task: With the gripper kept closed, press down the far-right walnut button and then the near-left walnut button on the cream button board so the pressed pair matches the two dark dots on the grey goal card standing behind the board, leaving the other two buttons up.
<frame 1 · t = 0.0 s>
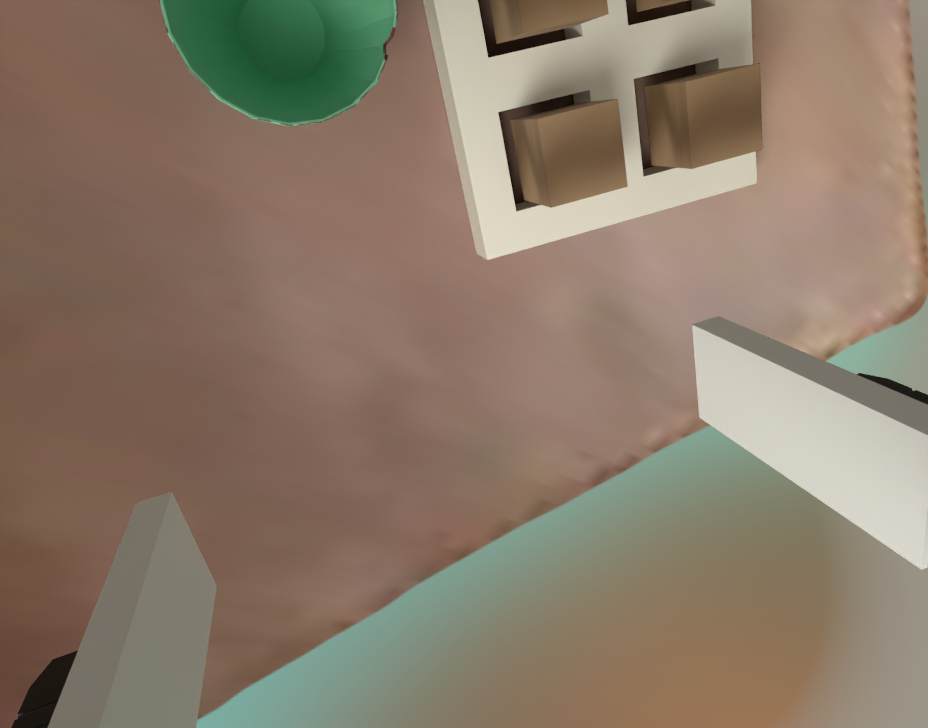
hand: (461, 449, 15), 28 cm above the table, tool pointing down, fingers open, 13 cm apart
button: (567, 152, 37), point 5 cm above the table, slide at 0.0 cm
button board: (590, 62, 41), on the table
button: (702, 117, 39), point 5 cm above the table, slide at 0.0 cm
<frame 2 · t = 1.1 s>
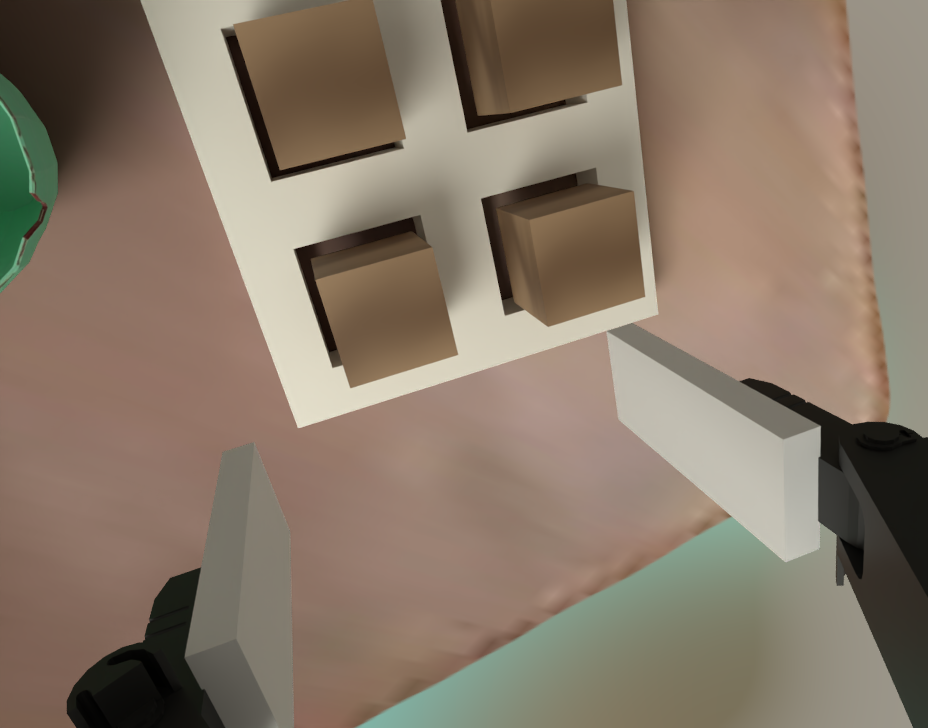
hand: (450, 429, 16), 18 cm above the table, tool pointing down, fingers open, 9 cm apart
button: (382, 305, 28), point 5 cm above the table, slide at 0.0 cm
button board: (431, 171, 31), on the table
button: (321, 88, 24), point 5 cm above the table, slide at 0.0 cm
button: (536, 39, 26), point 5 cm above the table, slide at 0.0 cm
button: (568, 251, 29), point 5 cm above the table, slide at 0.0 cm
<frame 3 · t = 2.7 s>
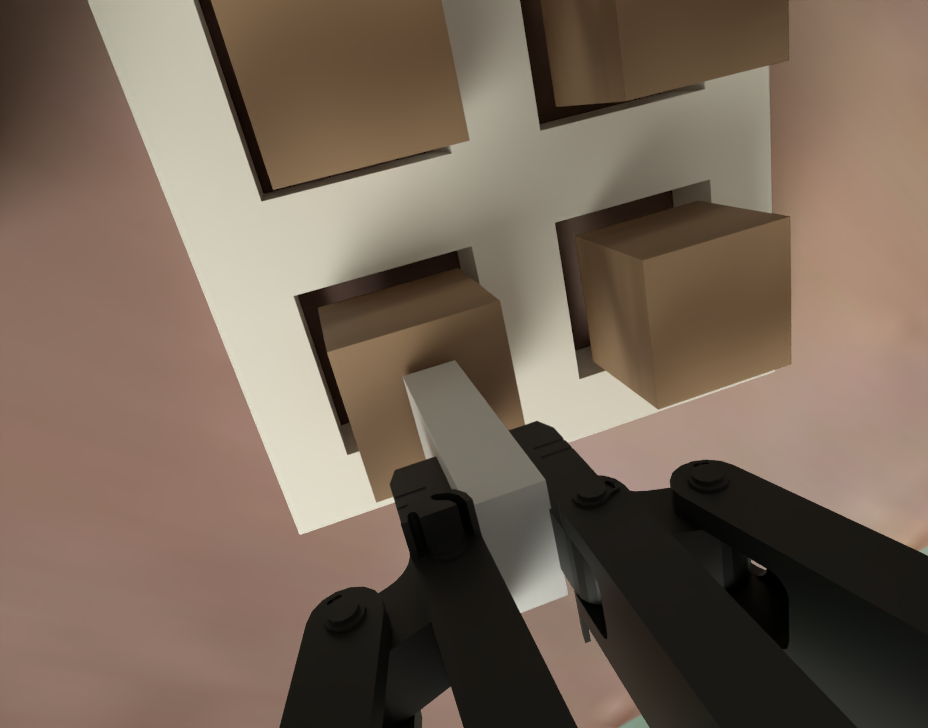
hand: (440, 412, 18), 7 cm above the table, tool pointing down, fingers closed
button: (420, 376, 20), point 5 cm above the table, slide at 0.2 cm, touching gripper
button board: (483, 183, 23), on the table
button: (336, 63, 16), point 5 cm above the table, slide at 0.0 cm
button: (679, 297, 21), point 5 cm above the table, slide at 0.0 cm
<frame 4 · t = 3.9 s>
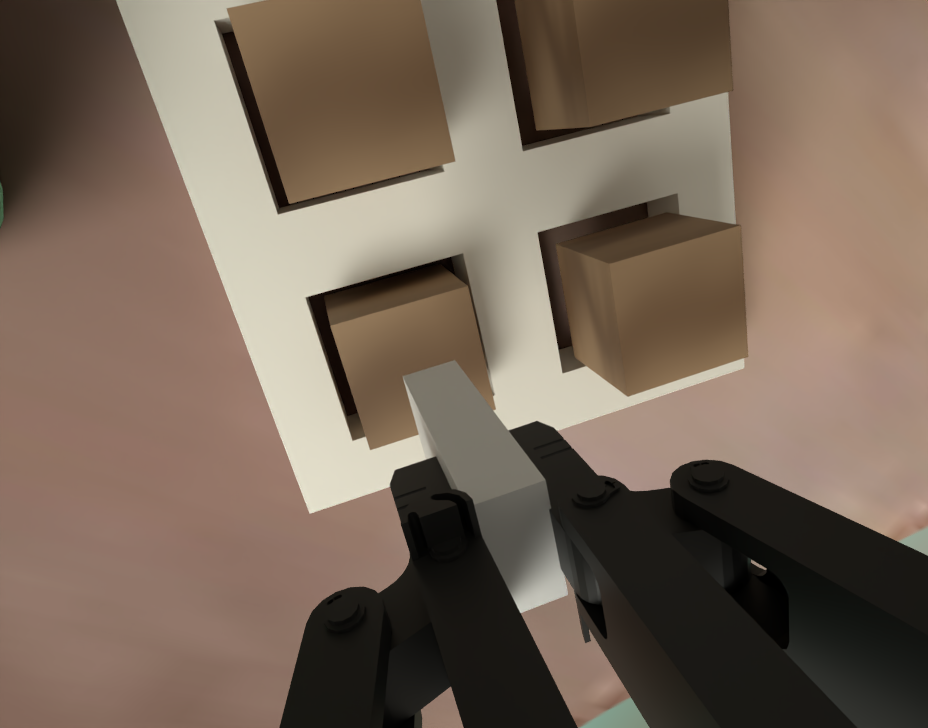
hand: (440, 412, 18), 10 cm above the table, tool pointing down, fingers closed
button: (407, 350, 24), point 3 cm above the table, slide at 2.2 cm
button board: (474, 197, 26), on the table
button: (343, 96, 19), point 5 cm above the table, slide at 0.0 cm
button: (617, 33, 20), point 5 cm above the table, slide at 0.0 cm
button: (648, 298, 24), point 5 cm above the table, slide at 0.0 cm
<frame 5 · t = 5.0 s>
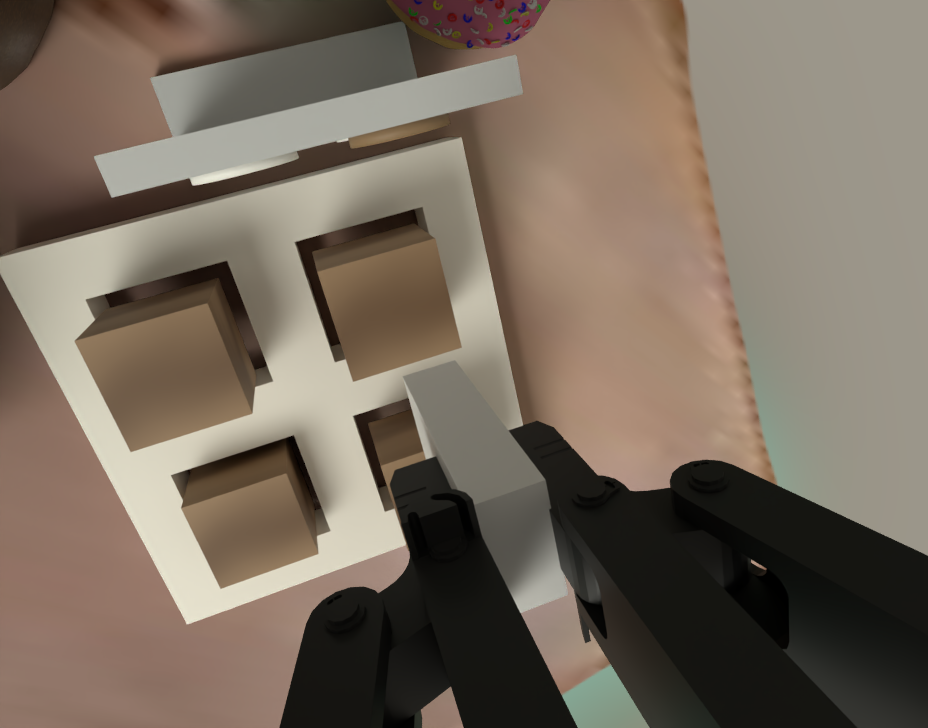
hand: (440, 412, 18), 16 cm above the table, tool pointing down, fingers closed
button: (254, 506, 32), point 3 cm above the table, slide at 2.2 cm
goal card: (304, 126, 29), on the table
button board: (311, 380, 33), on the table
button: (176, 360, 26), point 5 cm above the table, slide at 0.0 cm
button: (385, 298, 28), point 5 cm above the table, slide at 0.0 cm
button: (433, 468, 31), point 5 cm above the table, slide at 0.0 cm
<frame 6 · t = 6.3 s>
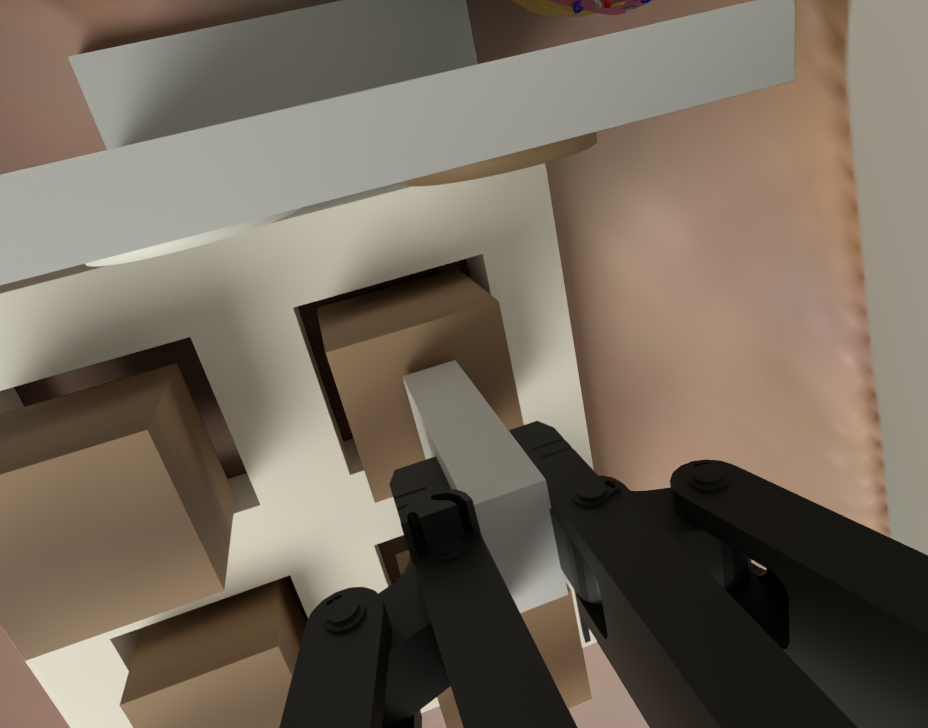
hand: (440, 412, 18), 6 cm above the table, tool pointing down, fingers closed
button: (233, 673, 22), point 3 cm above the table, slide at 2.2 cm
goal card: (308, 133, 20), on the table
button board: (315, 488, 24), on the table
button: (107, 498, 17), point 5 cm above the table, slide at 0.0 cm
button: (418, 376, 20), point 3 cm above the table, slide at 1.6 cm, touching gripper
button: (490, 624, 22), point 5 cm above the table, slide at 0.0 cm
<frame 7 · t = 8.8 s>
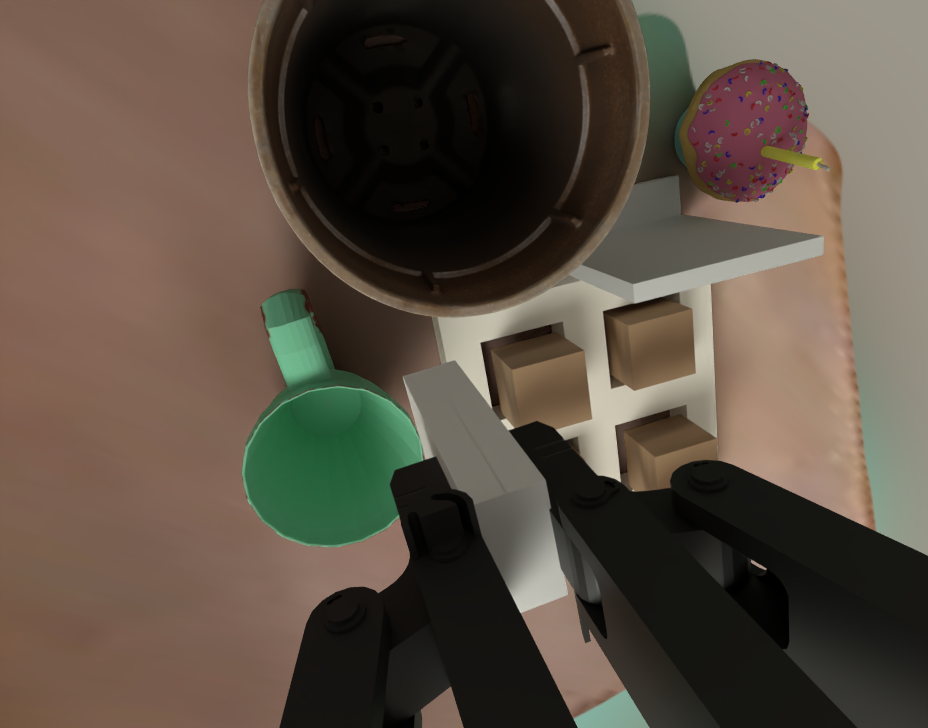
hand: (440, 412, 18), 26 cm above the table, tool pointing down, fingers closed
plant pot: (400, 130, 40), on the table
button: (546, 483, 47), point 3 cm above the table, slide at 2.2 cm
cupcake: (700, 134, 45), on the table
goal card: (606, 236, 45), on the table
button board: (580, 400, 49), on the table
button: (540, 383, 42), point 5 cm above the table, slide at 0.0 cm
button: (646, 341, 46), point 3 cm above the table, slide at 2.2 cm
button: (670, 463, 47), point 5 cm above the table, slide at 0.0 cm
mug: (316, 371, 43), on the table
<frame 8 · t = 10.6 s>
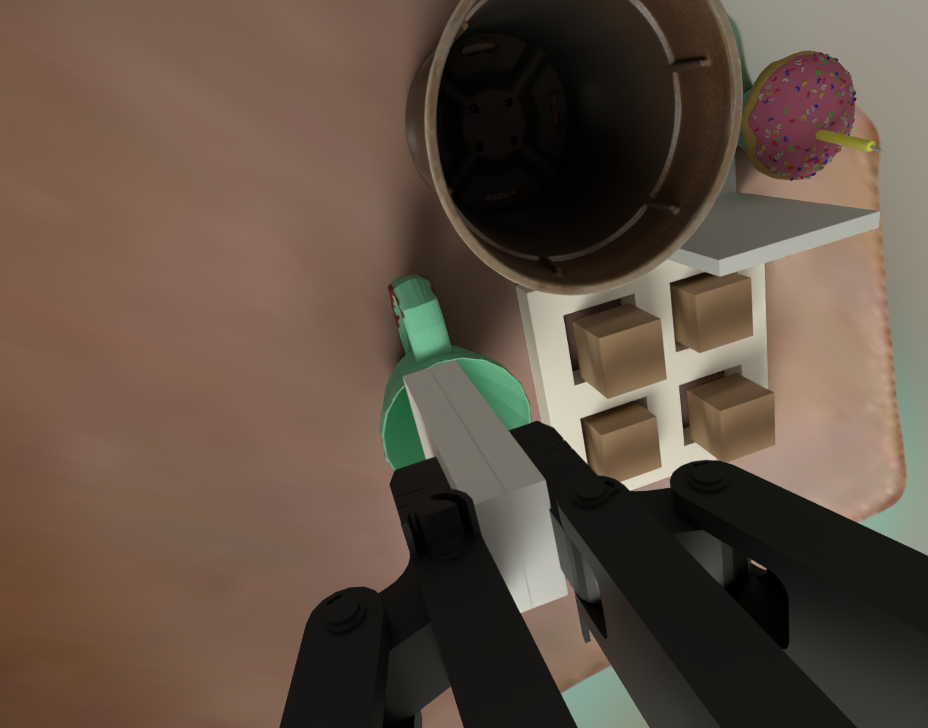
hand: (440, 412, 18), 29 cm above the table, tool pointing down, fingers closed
plant pot: (490, 128, 44), on the table
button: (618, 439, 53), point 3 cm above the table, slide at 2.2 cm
cupcake: (753, 118, 49), on the table
goal card: (669, 215, 50), on the table
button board: (645, 364, 54), on the table
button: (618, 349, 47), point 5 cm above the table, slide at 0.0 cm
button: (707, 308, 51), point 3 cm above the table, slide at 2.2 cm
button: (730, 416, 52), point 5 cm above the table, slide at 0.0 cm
mug: (416, 346, 48), on the table
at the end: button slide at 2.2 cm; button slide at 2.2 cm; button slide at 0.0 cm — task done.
